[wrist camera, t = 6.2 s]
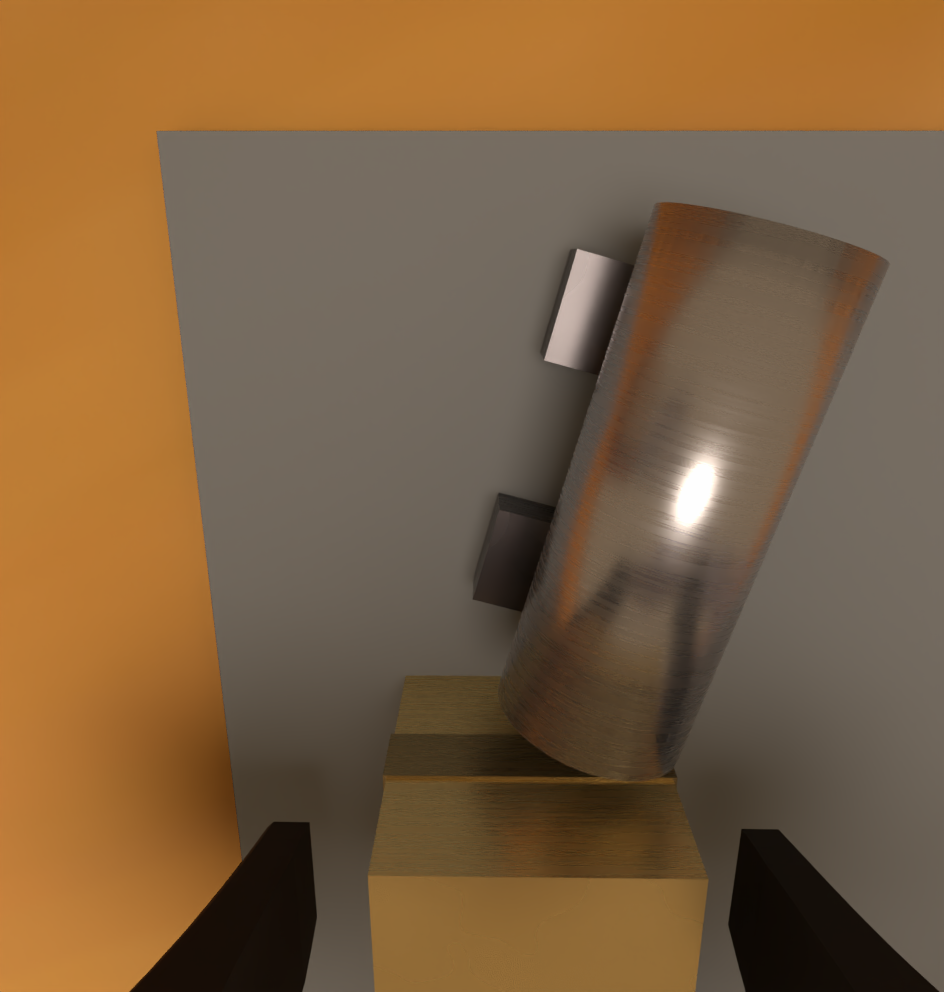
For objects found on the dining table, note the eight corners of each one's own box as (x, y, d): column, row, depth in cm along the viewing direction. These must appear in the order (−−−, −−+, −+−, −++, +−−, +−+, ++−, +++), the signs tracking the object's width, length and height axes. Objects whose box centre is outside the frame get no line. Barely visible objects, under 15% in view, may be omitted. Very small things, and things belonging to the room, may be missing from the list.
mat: (1235, 137, 11) (1275, 130, 11) (951, 1110, 18) (966, 1139, 17) (173, 136, 11) (156, 131, 11) (279, 1096, 18) (272, 1123, 17)
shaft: (670, 648, 14) (744, 812, 10) (463, 596, 14) (455, 742, 10) (819, 273, 12) (994, 285, 8) (579, 203, 12) (630, 178, 8)
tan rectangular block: (639, 674, 14) (713, 875, 9) (625, 863, 15) (683, 1118, 11) (403, 673, 14) (362, 872, 9) (410, 861, 15) (378, 1112, 11)
